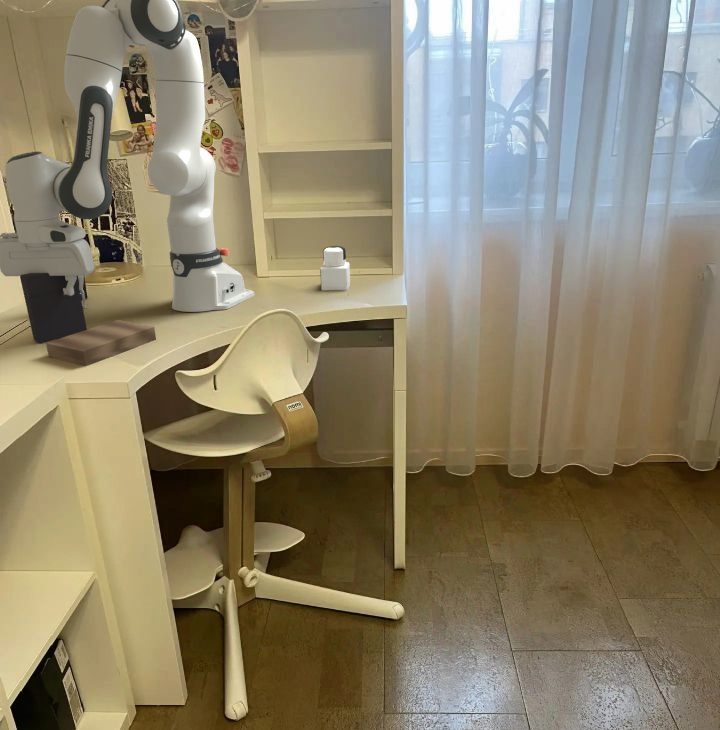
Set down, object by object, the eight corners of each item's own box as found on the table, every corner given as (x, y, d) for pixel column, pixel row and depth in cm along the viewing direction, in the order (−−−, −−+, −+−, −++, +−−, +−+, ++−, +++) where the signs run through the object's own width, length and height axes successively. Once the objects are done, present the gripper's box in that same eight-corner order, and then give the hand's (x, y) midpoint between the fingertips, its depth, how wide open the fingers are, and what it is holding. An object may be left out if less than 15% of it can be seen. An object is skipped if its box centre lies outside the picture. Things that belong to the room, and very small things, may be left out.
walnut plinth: (119, 332, 151) (117, 319, 150) (156, 339, 145) (154, 326, 144) (48, 356, 136) (45, 342, 135) (86, 365, 130) (83, 351, 129)
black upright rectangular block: (80, 329, 154) (68, 265, 149) (88, 332, 152) (76, 267, 146) (32, 340, 147) (17, 274, 142) (40, 344, 144) (25, 277, 139)
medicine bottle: (325, 287, 184) (322, 244, 180) (350, 287, 183) (348, 244, 179) (321, 294, 177) (318, 249, 173) (347, 294, 177) (345, 249, 172)
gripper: (-15, 235, 139) (0, 299, 144) (76, 234, 137) (88, 298, 142) (4, 230, 145) (17, 291, 150) (91, 229, 143) (102, 291, 148)
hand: (52, 295), depth 146 cm, fingers closed on black upright rectangular block, 6 cm apart
